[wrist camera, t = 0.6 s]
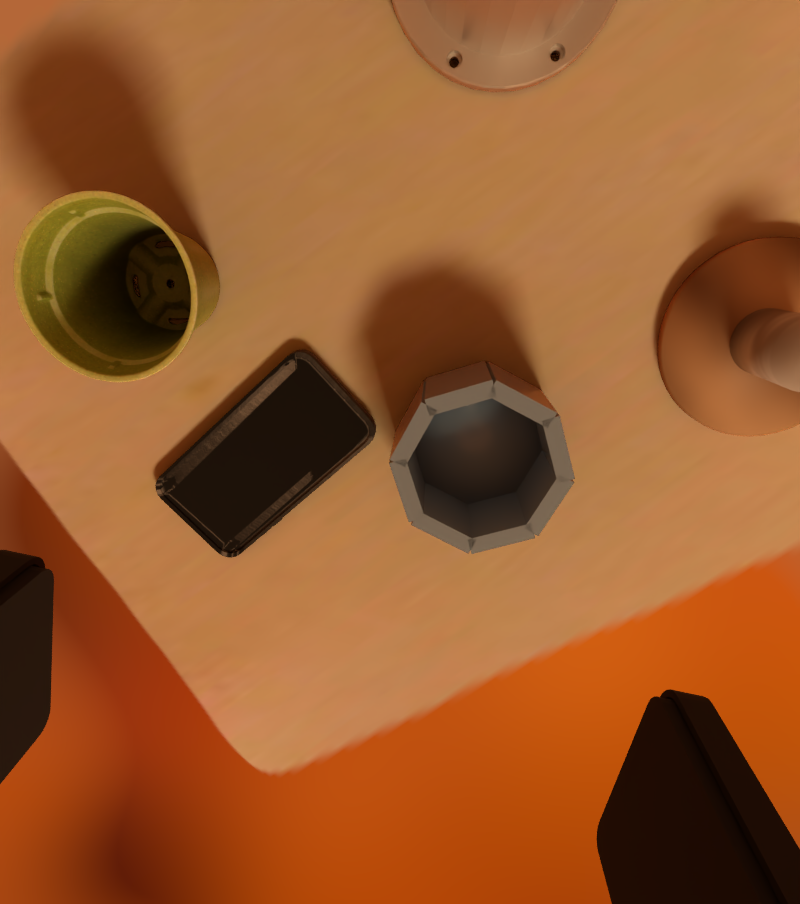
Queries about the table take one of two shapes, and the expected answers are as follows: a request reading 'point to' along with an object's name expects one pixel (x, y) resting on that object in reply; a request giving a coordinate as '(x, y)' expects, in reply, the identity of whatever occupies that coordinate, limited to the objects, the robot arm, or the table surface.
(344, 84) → the table surface
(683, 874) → the robot arm
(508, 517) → the bowl
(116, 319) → the plant pot
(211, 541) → the phone
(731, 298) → the lid
